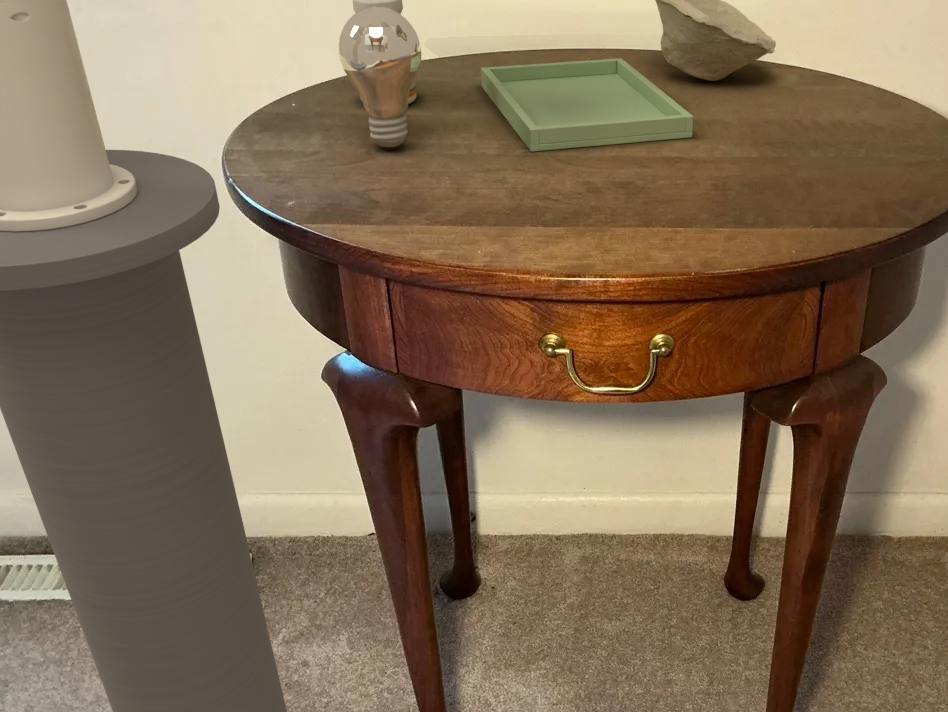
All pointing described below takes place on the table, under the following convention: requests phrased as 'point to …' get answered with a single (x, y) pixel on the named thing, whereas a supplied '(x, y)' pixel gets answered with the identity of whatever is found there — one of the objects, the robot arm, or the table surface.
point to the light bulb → (381, 69)
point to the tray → (583, 104)
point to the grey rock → (709, 37)
